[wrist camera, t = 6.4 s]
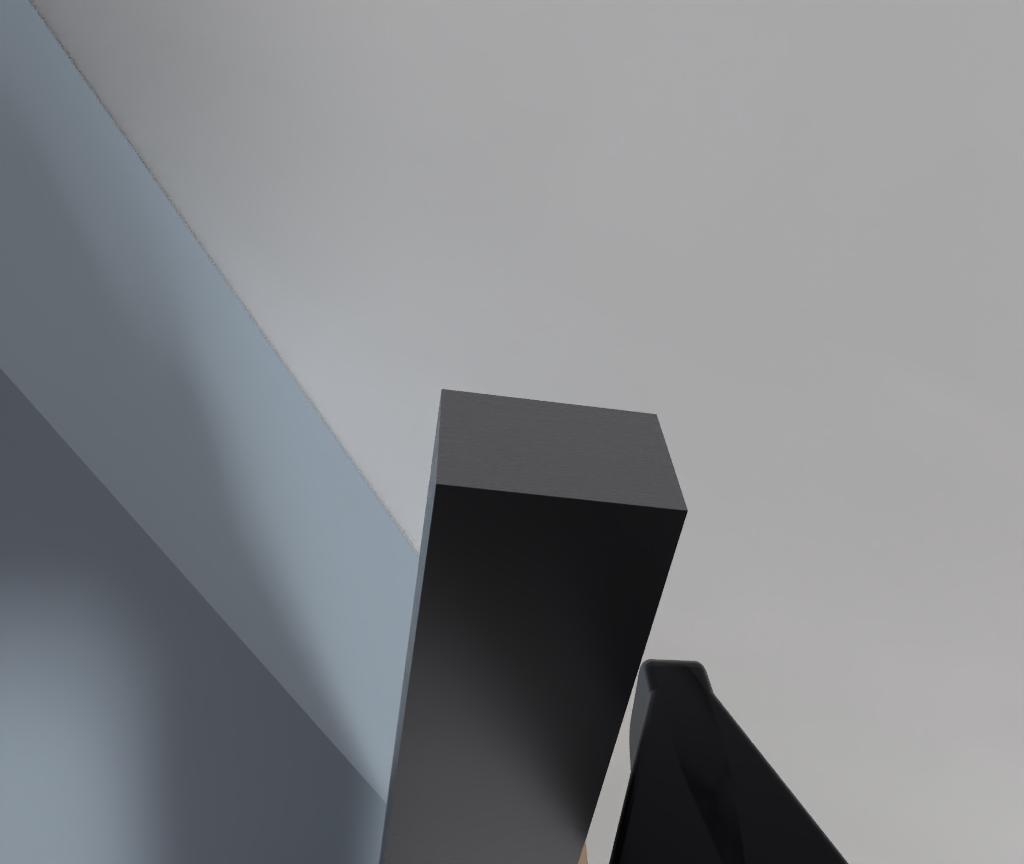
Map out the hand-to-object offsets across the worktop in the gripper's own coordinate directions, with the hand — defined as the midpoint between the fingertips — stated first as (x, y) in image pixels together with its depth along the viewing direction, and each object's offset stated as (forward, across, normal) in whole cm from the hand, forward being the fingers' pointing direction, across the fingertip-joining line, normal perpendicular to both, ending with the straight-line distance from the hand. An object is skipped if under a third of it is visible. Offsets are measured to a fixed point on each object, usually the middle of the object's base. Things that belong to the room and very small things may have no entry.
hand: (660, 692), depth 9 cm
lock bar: (0, +2, +4) cm, 4 cm away
